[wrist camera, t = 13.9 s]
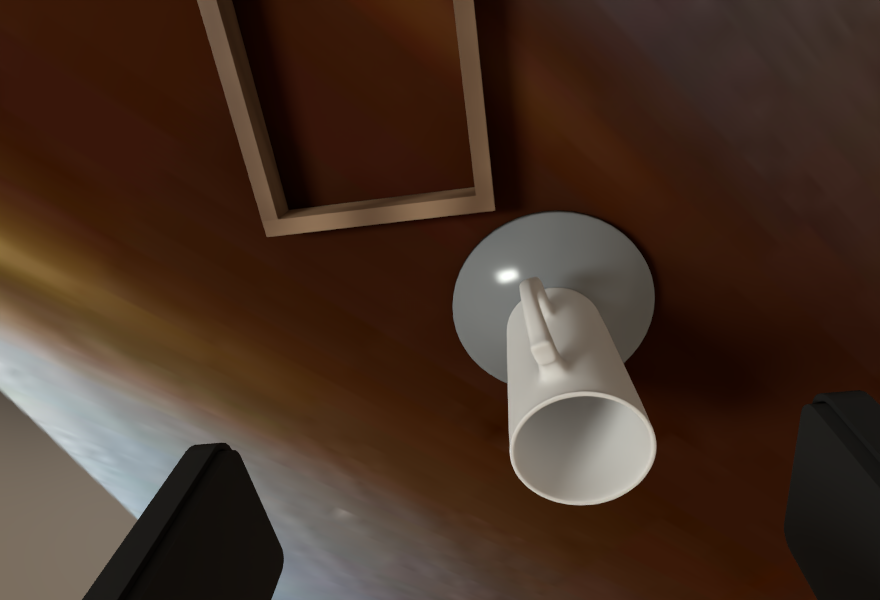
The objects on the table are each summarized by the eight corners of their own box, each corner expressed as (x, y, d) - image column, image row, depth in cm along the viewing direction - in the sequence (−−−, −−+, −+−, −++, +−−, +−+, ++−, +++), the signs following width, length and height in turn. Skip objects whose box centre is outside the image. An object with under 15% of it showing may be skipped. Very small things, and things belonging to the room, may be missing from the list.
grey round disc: (654, 198, 33) (657, 201, 32) (649, 379, 38) (652, 384, 38) (440, 223, 34) (439, 226, 34) (465, 392, 40) (465, 397, 39)
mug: (617, 354, 37) (672, 485, 26) (523, 383, 38) (537, 519, 28) (571, 221, 33) (613, 310, 22) (468, 259, 35) (461, 360, 24)
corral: (464, -93, 27) (463, -102, 25) (494, 201, 33) (494, 210, 32) (201, -43, 29) (183, -48, 27) (277, 226, 35) (266, 237, 33)
